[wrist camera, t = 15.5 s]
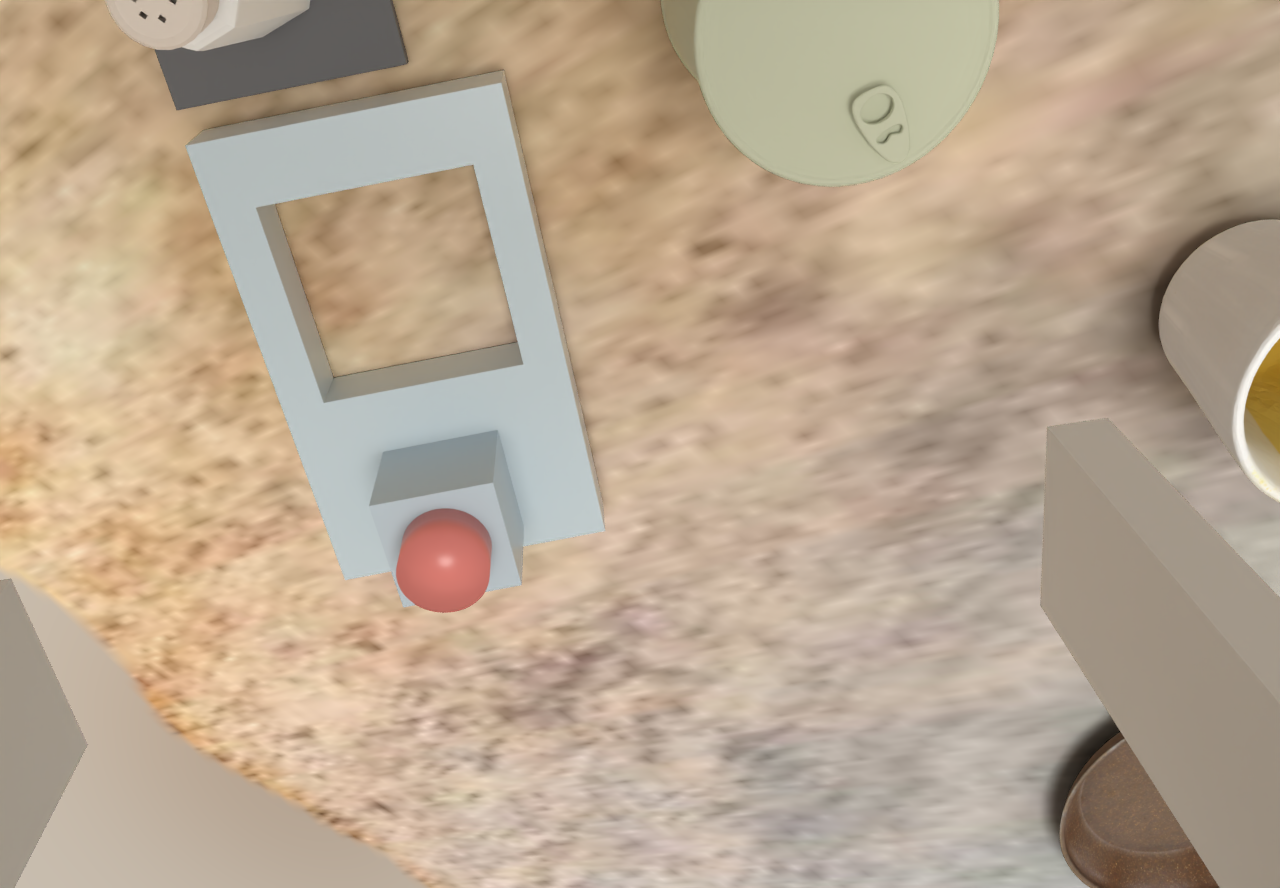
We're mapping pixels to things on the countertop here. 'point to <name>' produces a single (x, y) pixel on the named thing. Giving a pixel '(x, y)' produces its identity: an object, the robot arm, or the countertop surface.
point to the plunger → (444, 560)
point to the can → (835, 78)
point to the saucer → (1125, 828)
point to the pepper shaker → (201, 21)
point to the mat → (290, 54)
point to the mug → (1232, 342)
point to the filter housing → (425, 390)
